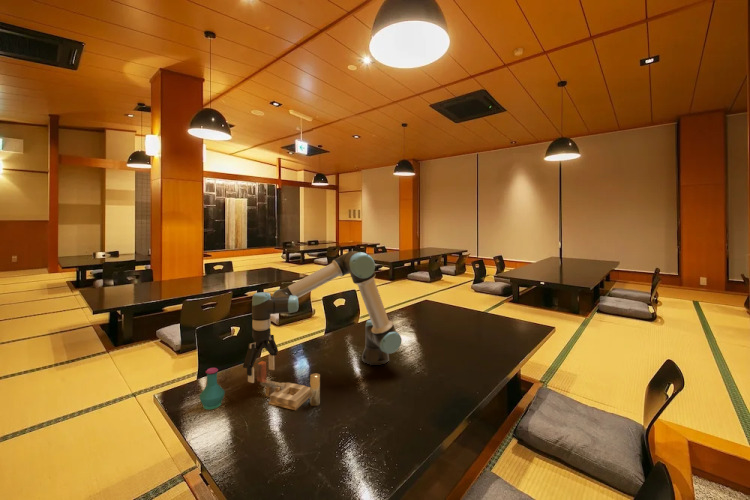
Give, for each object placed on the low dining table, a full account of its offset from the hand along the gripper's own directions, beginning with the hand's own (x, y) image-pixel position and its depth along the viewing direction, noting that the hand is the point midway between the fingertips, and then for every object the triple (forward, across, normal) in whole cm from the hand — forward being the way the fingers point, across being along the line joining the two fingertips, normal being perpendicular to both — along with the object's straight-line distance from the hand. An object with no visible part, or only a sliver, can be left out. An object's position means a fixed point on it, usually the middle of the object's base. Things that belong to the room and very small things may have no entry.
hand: (261, 375), depth 143 cm
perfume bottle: (+8, +16, -12) cm, 21 cm away
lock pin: (+4, 0, +5) cm, 6 cm away
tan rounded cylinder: (+8, -1, +26) cm, 28 cm away
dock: (+8, 0, +13) cm, 15 cm away
